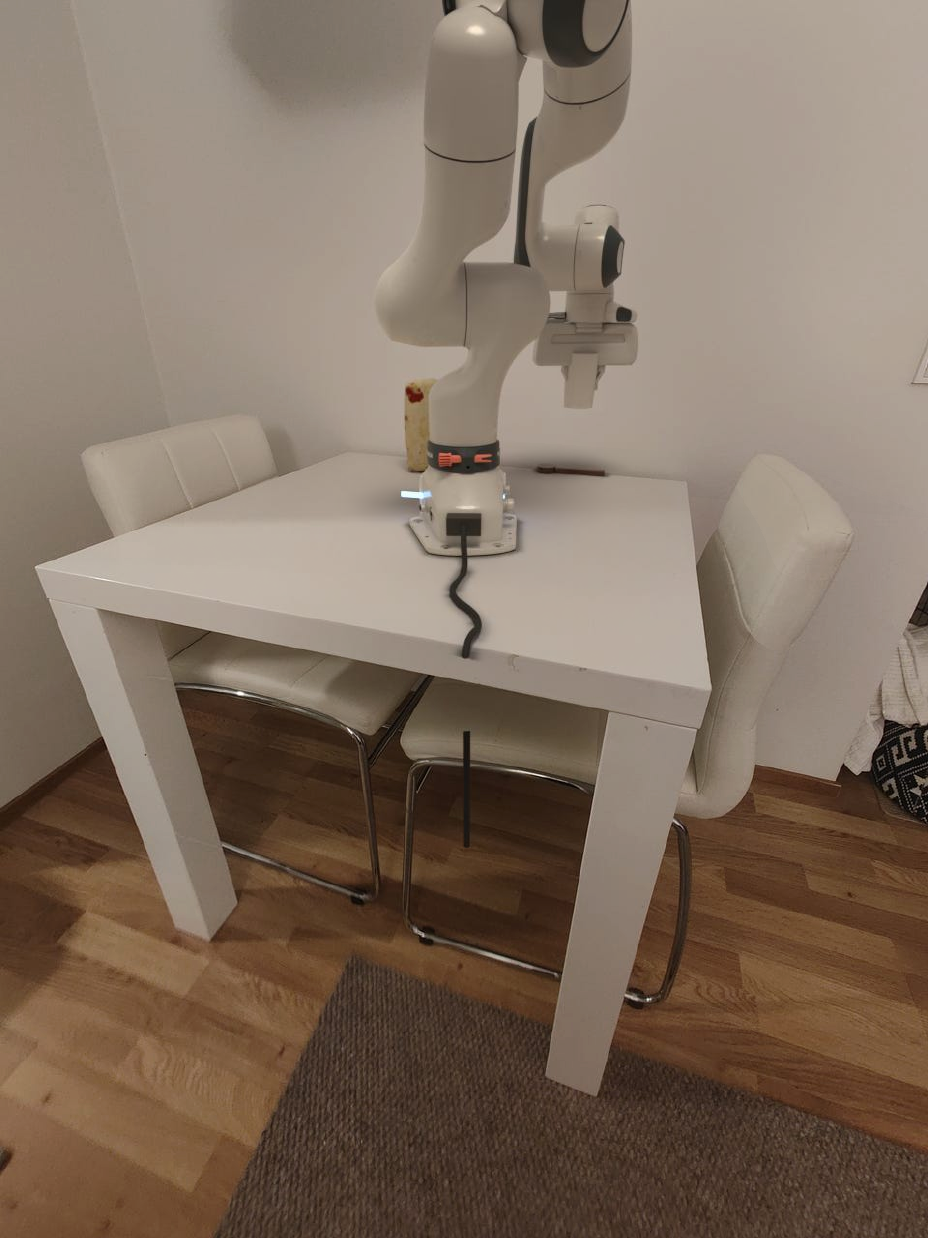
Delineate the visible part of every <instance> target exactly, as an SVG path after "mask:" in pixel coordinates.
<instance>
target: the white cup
mask: <svg viewBox="0 0 928 1238" xmlns="http://www.w3.org/2000/svg"><path fill="white" fill-rule="evenodd" d="M597 360H598V353H595V354H574V353H572V364H571V366H569V368H568V381H567V380H566V379H564V386H563V387H564V389H563V391H564V392H563V394H564V395H563V408H565V409H576V410H583V409H584V410H585V409H592V408H593V403H594V397H595V391H596V390H595V383H596V376H597V372H598V371H597V369H598V365H597Z"/></svg>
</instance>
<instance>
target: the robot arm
mask: <svg viewBox="0 0 928 1238" xmlns="http://www.w3.org/2000/svg"><path fill="white" fill-rule="evenodd" d="M631 1H632V0H441V4H442V11H443V15H444V17H443V18H441V20H440V21H439V22H438V24H437V25H436V27H435V29H434V31H433V34H432V37H431V40H430V46H429V47H430V48H429V52H428V53H429V54H428V61H427V69H426V70H427V71H426V79H425V88H424V89H425V91H424V101H423V102H424V103H423V104H424V105H423V179H422V180H423V181H422V200H421V201H422V203H421V210H420V217H419V220H418V224H417V227H416V230H415V233H414V235H413V237H412V239H411V241H410V243H409V245H408V246H407V247H406V249H405V250H404V251H403V253H402V254H401V256H399V257H398V258H397V260H395V261H394V262H393V263H392V264H391V265H389V266H388V267H387V268H386V269H385V270H384V271H383V273H382V274H381V275H380V277H379V279H378V282H377V283H376V287H375V292H374V300H373V301H374V312H375V316H376V319H377V322H378V325H379V326H380V328H381V330H382V331H383V333H384V334H385V335H386V336H387V338H388V339H389V340H390V341H391V342H396V343H401V344H405V345H409V346H415V347H421V348H429V347H430V348H432V347H433V348H434V347H435V348H439V347H449V348H450V347H454V348H455V347H457V348H458V347H462V348H466V349H467V350H468V351H467V356H466V359H465V361H464V362H463V364H462V365H460V366H459V367H457V368H455V369H453V370H452V371H450V372H448V373H446V374H444V375H443V376H442V377H440V378H438V379H437V380H438V381H436V382H435V384H434V385H433V386H432V388H431V390H430V393H429V398H428V400H429V434H430V439H429V440H428V442H427V462H428V464H429V466H428V468H427V469H426V470H425V471H423V472H422V473H421V475H419V478H418V479H419V480H418V481H419V492H418V491H417V492H416V491H404V490H403V491H401V497H403V498H415V499H419V507H418V509H419V515H416V516H413V517H410V518H409V523H408V525H409V527H410V528H411V530H412V532H413V533H414V534H415V536H416V538H417V539H418V540H419V542H420V543H421V545H422V546H423V549H424V550H425V551H426V553H429V554H433V555H440V556H453V557H454V556H455V557H456V556H457V557H458V556H459V557H461V569H460V573H459V575H458V576H457V578H456V579H454V580H453V581H452V583H451V584H450V585H449V594H450V597H451V600H453V601H454V602H455V603H456V604H457V605H458V606H459V607H461V609H463V610H464V611H465V612H467V613H468V614H469V616H471V618H472V619H473V621H474V626H473V627H472V628H471V629H470V630H469V631H468V633H467V634H466V636H465V637H464V641H463V644H462V650H461V658H462V659H464V660H465V659H466V660H467V659H468V658H470V653H471V652H470V651H471V645H472V642H473V639H475V636H477V635H478V633H479V632H480V631H481V629H482V628H483V623H482V622H483V621H482V618H481V616H480V614H479V613H478V611H476V610H475V609H474V608H473V607H472V606H470V604H468V603H467V602H466V601H464V600H463V599H462V598H461V597H460V596H459V595H458V593H457V587H458V586H459V585H460V584H461V583H462V581H463V579H465V577H466V574H467V570H468V565H469V563H468V556H469V557H470V556H472V557H473V556H487V555H497V554H504V553H509V552H511V551H514V550H516V547H517V531H518V516H517V515H516V514H513V513H515V512H514V511H515V499H514V498H506V495H511V485H506V484H507V474H506V472H504V470H502V468H500V466H499V465H501V448H500V440H499V439H498V426H499V425H498V423H499V409H500V402H501V400H500V399H501V393H502V388H503V385H504V382H505V379H506V376H507V374H508V372H509V370H510V368H511V366H512V365H513V363H514V362H515V360H516V359H517V358H518V357H519V355H520V354H521V353H522V351H524V349H526V348H527V347H528V346H529V345H530V344H532V343H533V342H534V343H533V349H532V362H533V363H534V365H535V366H537V367H560V373H561V375H562V377H563V378H564V380H565V379H566V380H567V381H568V368H569V366H571V364H572V353H574V354H595V353H598V360H597V365H598V369H597V376H596V383H595V390H594V391H598V388H599V381H600V380H601V379H602V377H603V376H604V374H605V373H606V366H633V364H634V363H635V362H636V360H637V358H638V352H639V351H638V349H639V332H638V327H637V326H636V325H635V324H633V323H636V321H637V319H638V311H637V310H636V309H634V308H631V307H628V306H625V305H623V304H621V303H618V302H615V300H614V298H615V286H614V282H615V281H616V280H617V279H618V278H620V276H622V269H623V257H624V250H625V245H626V241H625V239H624V237H623V236H622V235H621V234H620V216H619V215H620V214H619V212H618V210H617V209H616V208H614V207H613V206H609V205H606V204H590V205H587V206H583V207H582V208H580V209H579V210H578V211H577V212H576V214H575V217H574V222H573V224H565V225H564V224H563V225H562V224H559V225H550V224H548V223H546V222H544V221H543V213H544V205H545V192H546V187H547V184H548V183H549V182H550V181H551V180H553V179H554V178H555V177H557V176H559V175H560V174H562V173H563V172H565V171H567V170H568V169H569V170H570V169H571V168H573V167H575V166H577V165H580V164H582V163H584V162H587V161H588V160H590V159H592V158H594V157H595V156H596V155H598V154H599V153H600V152H601V151H603V150H604V149H605V148H606V147H607V146H608V145H609V143H611V141H612V140H613V139H614V137H615V136H616V135H617V133H618V131H619V130H620V129H621V126H622V124H623V122H624V120H625V118H626V115H627V109H628V105H629V97H630V91H631V81H632V69H633V68H632V65H633V64H632V63H633V17H632V15H633V14H632V2H631ZM528 58H531V59H535V60H540V61H542V83H543V86H542V87H543V96H542V97H543V98H542V103H541V107H540V110H539V113H538V115H537V116H536V117H534V118H533V119H532V120H531V121H529V123H528V125H527V127H526V130H525V134H524V138H523V142H522V146H521V153H520V163H519V177H518V190H517V191H518V192H517V209H516V210H517V211H516V226H515V227H516V228H515V240H514V241H515V242H514V246H513V249H512V250H513V251H512V257H511V262H509V261H464V260H465V259H466V257H468V255H469V254H471V253H472V252H473V251H474V250H475V249H477V248H479V247H481V246H483V245H484V244H486V243H488V242H489V241H491V240H492V239H494V238H495V237H496V236H497V235H498V234H499V232H500V231H501V230H502V229H503V227H504V226H505V224H506V222H507V220H508V218H509V215H510V213H511V212H510V211H511V204H512V194H513V183H514V171H515V161H516V153H517V140H518V129H519V128H518V127H519V107H520V106H519V99H520V96H519V95H520V93H519V92H520V87H519V83H520V79H521V77H522V74H523V70H524V68H525V65H526V63H527V62H528ZM550 292H565V307H564V311H556V312H550V311H551V293H550ZM462 768H463V769H462V775H463V776H462V788H463V789H462V795H463V797H462V799H463V800H462V801H463V802H462V804H463V805H462V807H463V808H462V812H463V813H462V820H463V821H462V822H463V823H462V824H463V827H462V832H463V833H462V835H463V837H462V838H463V840H462V842H463V843H462V845H463V847H464V848H465V849H468V848H470V846H471V730H464V731H462Z"/></svg>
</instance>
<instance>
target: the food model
mask: <svg viewBox="0 0 928 1238" xmlns="http://www.w3.org/2000/svg"><path fill="white" fill-rule="evenodd" d="M438 380H439V379H437V378H423V379H419V380H417V379H414V380H412V381H410V382H407V383H406V384H405V386H404V436H405V437H404V439H405V441H404V442H405V450H406V464H407V468H408V469H409V470H410V471H414V472H422V471H423V472H425V471H426V469H427V468H428V466H429V464H428V462H427V442H428V440H429V439H430V434H429V400H428V398H429V393H430V390H431V388H432V386H433V385H434V384H435V382H436V381H438Z"/></svg>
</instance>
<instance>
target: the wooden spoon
mask: <svg viewBox="0 0 928 1238" xmlns="http://www.w3.org/2000/svg"><path fill="white" fill-rule="evenodd" d="M536 472H537V473H540V474H553V473H558V474H559V473H560V474H573V475H586V476H598V477H605V475H606V470H605V469H596V468H583V467H582V468H581V467H579V468H578V467H566V466H557V465H555V464H552V463H539V464H537V465H536Z"/></svg>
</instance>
